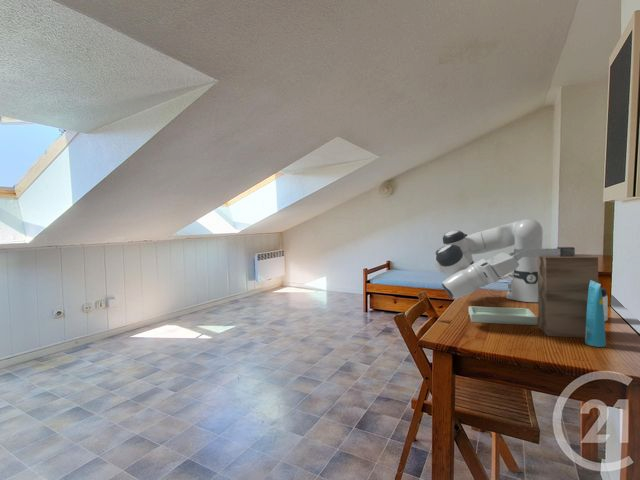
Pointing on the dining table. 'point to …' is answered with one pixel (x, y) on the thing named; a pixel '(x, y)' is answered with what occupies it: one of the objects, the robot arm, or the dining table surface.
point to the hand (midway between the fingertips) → (524, 251)
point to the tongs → (549, 252)
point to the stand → (565, 294)
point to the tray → (502, 315)
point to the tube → (595, 317)
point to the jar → (605, 303)
